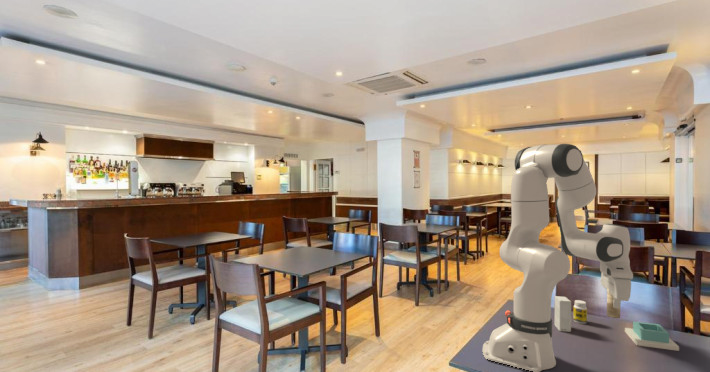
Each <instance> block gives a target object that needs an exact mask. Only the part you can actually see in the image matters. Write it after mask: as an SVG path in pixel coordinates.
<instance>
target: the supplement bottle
mask: <svg viewBox="0 0 710 372" xmlns="http://www.w3.org/2000/svg"><path fill="white" fill-rule="evenodd" d="M572 309H573V314H572V315H573V317H572V318H573V319H572V320H573V322H575V323H577V324H583V325H584V324H587V322H588V308H587V302H586V301H584V300H579V299H575V300H574V305H573V308H572Z"/></svg>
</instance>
